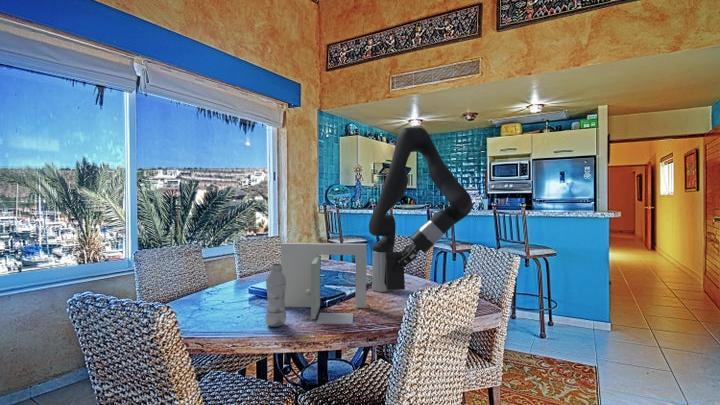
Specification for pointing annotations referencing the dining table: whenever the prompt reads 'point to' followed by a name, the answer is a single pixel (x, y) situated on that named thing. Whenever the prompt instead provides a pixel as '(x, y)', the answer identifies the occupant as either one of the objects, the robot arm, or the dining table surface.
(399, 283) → the black rectangular block
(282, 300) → the plastic bottle
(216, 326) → the dining table surface
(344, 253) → the door frame
